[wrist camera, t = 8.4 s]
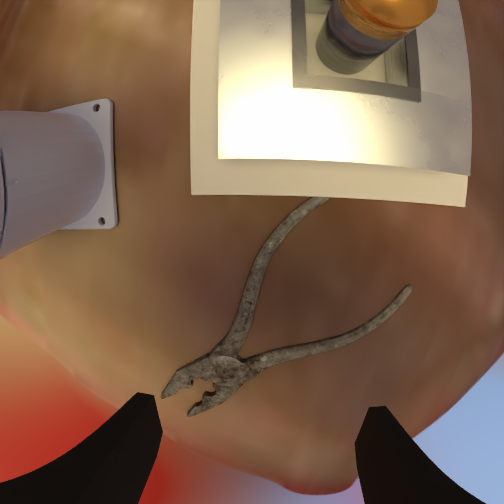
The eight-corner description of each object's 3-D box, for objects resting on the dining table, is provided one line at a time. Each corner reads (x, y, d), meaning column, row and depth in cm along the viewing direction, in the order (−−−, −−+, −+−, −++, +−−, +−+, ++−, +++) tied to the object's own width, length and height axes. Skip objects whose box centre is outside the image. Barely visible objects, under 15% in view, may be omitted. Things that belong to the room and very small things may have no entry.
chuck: (228, 156, 16) (217, 158, 13) (230, -36, 12) (222, -65, 9) (441, 170, 15) (472, 176, 12) (429, -12, 11) (451, -32, 8)
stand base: (195, 192, 18) (191, 195, 17) (201, -47, 12) (198, -54, 11) (456, 204, 17) (464, 207, 16) (443, -20, 11) (450, -25, 11)
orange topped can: (318, 74, 14) (356, 15, 7) (312, 24, 13) (339, -57, 6) (373, 76, 14) (446, 30, 6) (366, 27, 13) (425, -41, 5)
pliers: (431, 270, 18) (257, 447, 24) (425, 265, 18) (258, 440, 24) (311, 177, 16) (156, 400, 22) (309, 175, 17) (158, 392, 23)
